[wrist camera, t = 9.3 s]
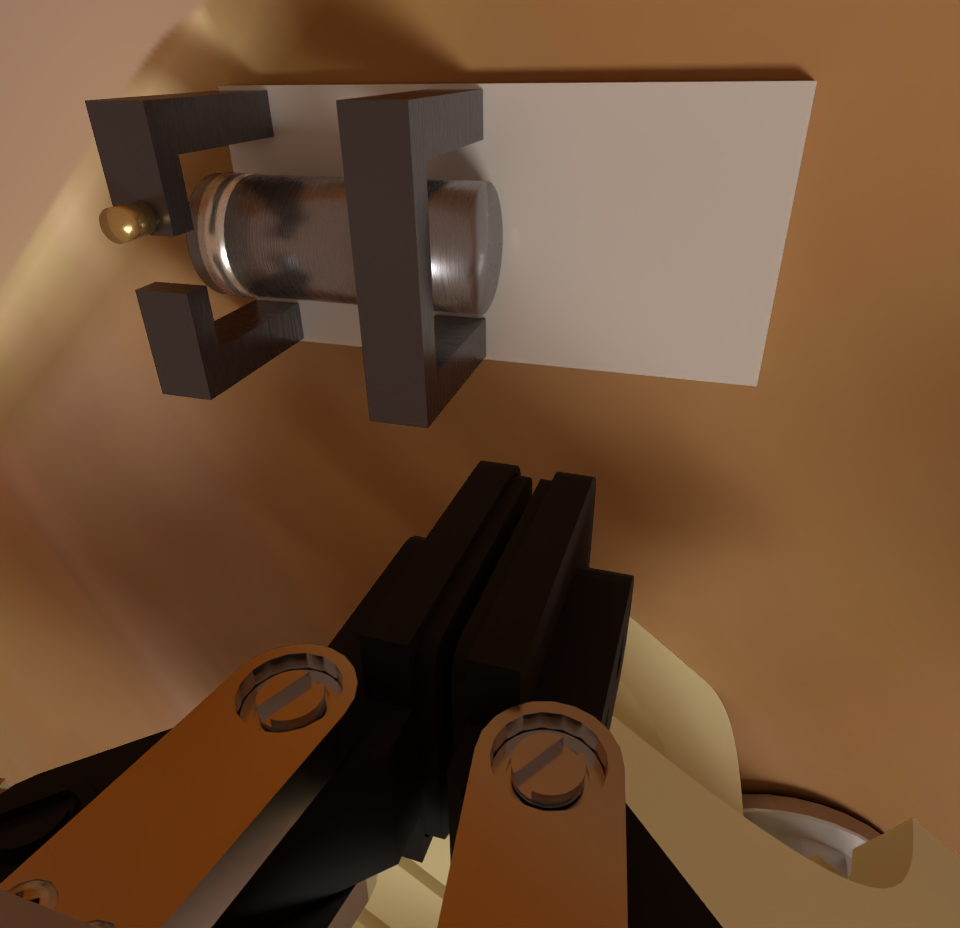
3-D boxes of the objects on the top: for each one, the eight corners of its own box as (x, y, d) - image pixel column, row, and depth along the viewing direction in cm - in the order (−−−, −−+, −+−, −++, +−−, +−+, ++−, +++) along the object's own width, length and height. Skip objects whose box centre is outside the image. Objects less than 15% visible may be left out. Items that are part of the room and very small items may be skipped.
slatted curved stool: (490, 855, 45) (375, 1238, 31) (298, 704, 44) (78, 1035, 29) (930, 653, 29) (1138, 1282, 14) (649, 395, 27) (550, 808, 12)
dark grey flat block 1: (483, 88, 23) (408, 99, 18) (486, 355, 27) (428, 428, 22) (425, 89, 23) (335, 100, 18) (438, 350, 28) (369, 420, 23)
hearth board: (814, 80, 21) (817, 80, 20) (756, 379, 25) (756, 386, 25) (228, 85, 26) (217, 86, 25) (270, 332, 31) (263, 337, 30)
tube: (502, 171, 24) (463, 191, 20) (502, 295, 26) (467, 333, 22) (247, 164, 26) (172, 181, 23) (266, 277, 29) (201, 309, 25)
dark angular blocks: (267, 90, 25) (111, 103, 19) (304, 337, 30) (188, 414, 23) (218, 90, 25) (51, 103, 19) (262, 333, 30) (139, 407, 24)
